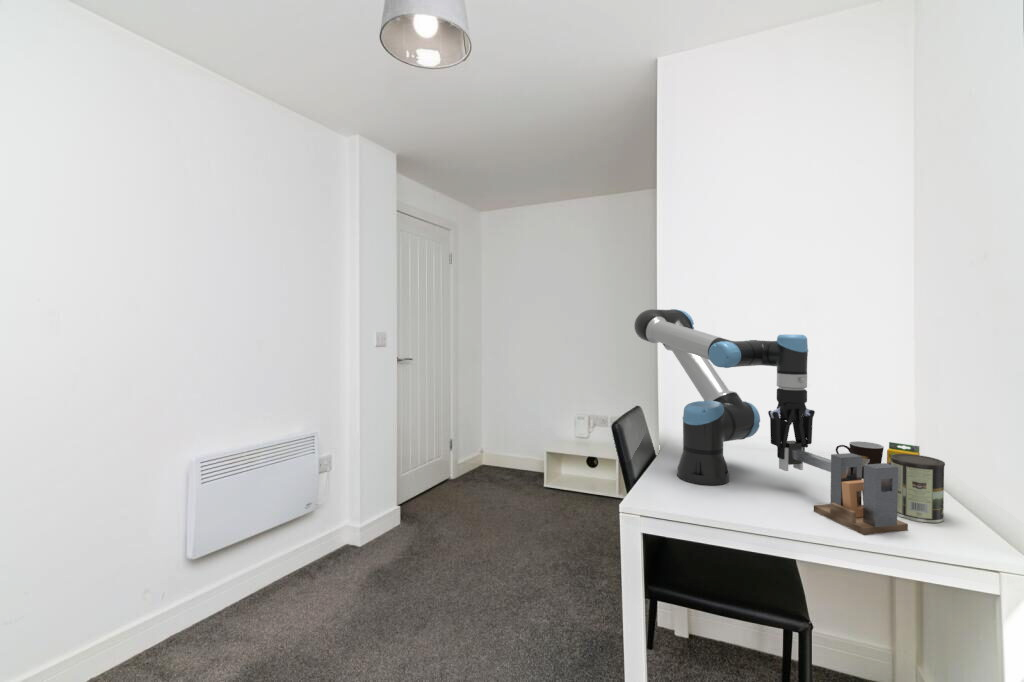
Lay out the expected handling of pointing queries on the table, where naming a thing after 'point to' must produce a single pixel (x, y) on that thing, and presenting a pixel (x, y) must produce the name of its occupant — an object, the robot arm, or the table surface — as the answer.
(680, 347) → the robot arm
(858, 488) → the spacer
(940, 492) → the coffee can
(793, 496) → the table surface
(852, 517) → the tray
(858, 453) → the coffee mug
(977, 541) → the table surface
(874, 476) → the bearing blocks
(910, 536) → the table surface
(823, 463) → the shaft
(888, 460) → the crayon box
